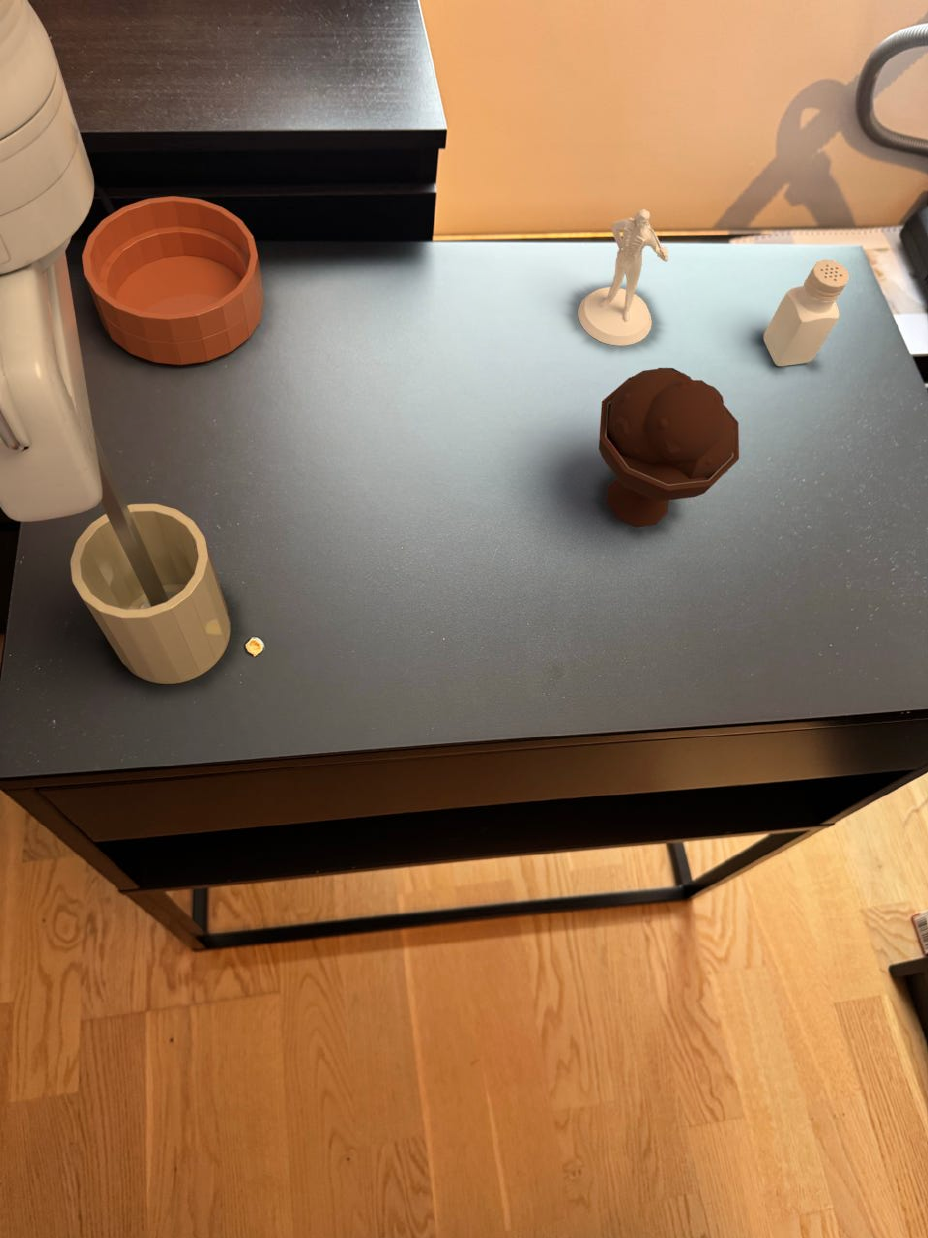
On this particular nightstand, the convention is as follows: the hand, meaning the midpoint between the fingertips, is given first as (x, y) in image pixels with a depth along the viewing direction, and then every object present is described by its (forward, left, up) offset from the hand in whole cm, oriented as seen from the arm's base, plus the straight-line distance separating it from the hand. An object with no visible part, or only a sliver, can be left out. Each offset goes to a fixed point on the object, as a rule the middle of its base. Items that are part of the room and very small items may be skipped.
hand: (69, 408), depth 44 cm
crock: (0, 0, -26) cm, 26 cm away
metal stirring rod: (0, 0, -25) cm, 25 cm away
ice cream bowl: (+39, +4, -26) cm, 47 cm away
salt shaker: (+59, +17, -26) cm, 67 cm away
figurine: (+44, +24, -26) cm, 57 cm away
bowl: (+5, +32, -26) cm, 42 cm away
